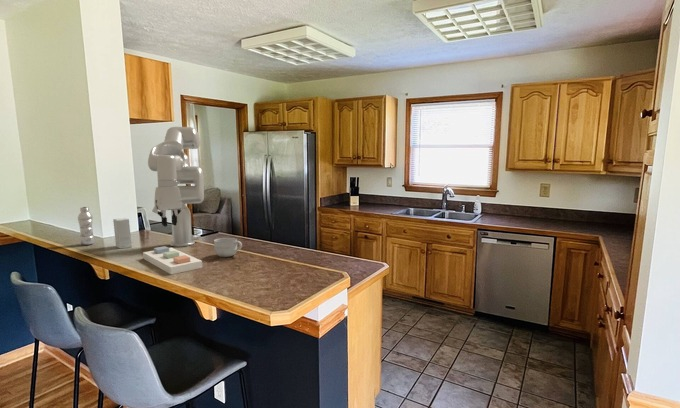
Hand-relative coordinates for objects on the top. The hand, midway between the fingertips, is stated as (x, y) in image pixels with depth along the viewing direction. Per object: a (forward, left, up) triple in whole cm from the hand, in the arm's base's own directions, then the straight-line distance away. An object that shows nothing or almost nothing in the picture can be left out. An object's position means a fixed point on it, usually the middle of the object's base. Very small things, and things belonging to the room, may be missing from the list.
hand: (169, 225), depth 159 cm
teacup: (-24, +7, -18) cm, 31 cm away
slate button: (0, -11, -14) cm, 18 cm away
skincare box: (+6, -47, -17) cm, 50 cm away
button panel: (0, 0, -17) cm, 17 cm away
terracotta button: (0, +11, -14) cm, 18 cm away
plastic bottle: (+18, -65, -17) cm, 70 cm away
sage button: (0, 0, -14) cm, 14 cm away
